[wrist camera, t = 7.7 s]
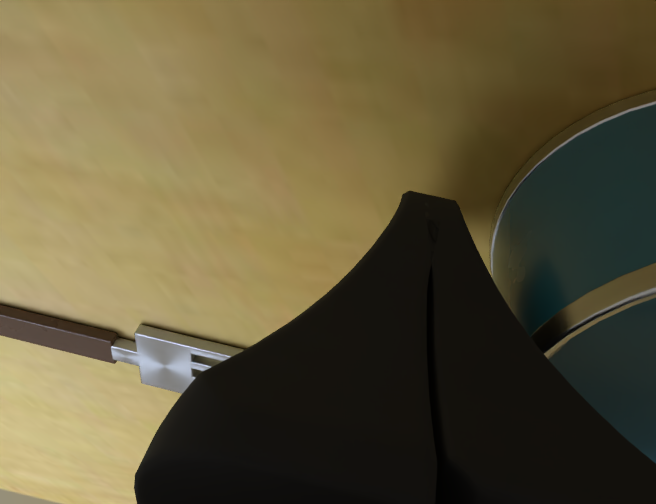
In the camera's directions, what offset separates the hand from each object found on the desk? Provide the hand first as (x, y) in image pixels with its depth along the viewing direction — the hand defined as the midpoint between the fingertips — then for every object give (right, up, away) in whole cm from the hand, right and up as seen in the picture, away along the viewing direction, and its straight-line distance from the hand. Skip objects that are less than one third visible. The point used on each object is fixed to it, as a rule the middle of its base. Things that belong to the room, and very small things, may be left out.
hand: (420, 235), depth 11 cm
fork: (-10, -3, +7) cm, 13 cm away
